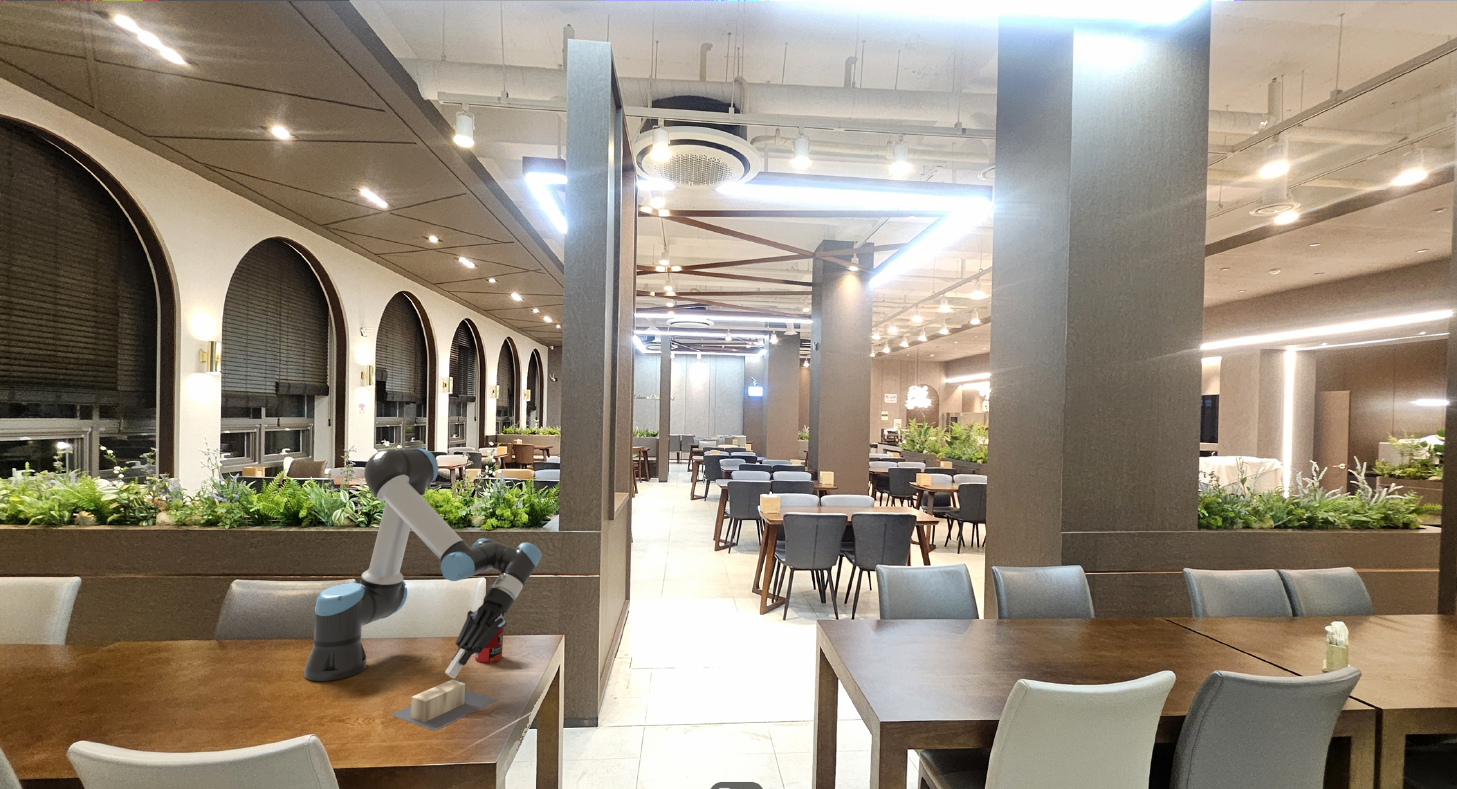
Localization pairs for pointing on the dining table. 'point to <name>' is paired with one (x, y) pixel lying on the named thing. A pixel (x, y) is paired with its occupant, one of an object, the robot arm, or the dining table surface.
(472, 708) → the mat
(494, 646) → the canned food
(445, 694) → the beech block
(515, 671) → the dining table surface
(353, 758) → the dining table surface
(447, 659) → the dining table surface
